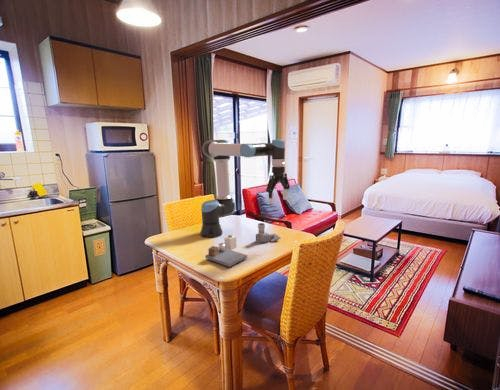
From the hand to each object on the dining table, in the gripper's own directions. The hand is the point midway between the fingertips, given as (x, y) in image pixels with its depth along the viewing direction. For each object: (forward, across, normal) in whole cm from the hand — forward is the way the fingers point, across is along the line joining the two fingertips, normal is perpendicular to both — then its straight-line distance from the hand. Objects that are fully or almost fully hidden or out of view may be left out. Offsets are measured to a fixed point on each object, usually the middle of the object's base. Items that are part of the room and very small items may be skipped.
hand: (278, 201), depth 167 cm
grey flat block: (+27, -37, +8) cm, 46 cm away
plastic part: (+27, -23, +18) cm, 40 cm away
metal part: (+25, -34, +14) cm, 44 cm away
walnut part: (+25, -41, +13) cm, 49 cm away
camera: (+28, 0, +9) cm, 29 cm away
